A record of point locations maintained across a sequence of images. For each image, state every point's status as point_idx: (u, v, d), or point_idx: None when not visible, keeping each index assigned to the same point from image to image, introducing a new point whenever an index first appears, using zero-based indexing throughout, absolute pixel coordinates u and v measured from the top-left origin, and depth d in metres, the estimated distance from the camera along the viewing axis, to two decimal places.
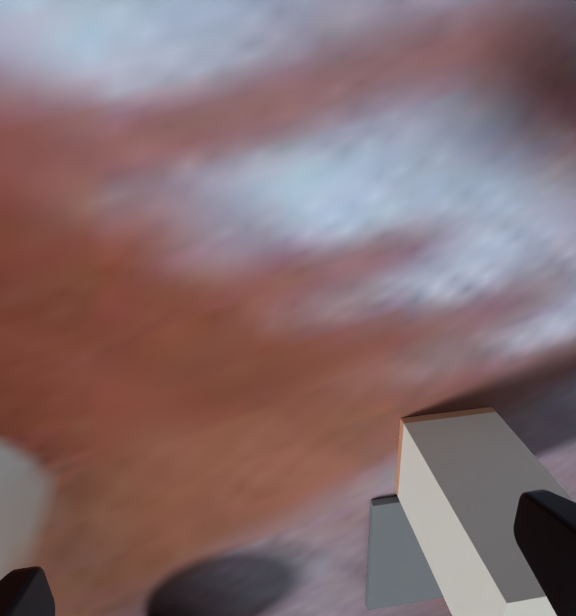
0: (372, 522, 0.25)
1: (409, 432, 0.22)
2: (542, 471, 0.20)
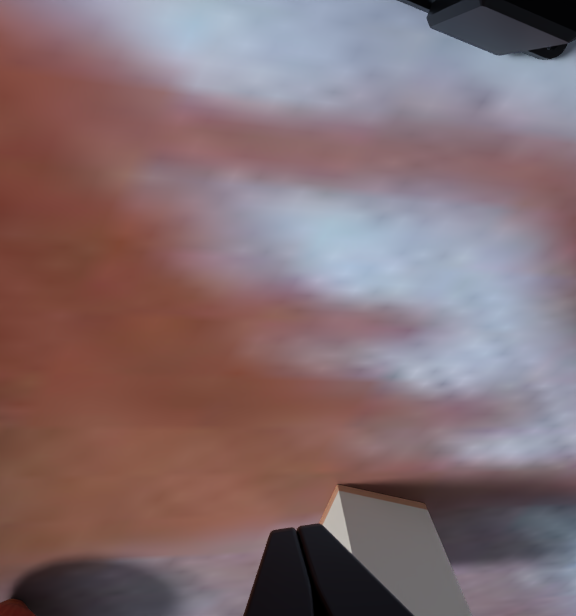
0: None
1: (341, 501, 0.22)
2: (454, 583, 0.20)
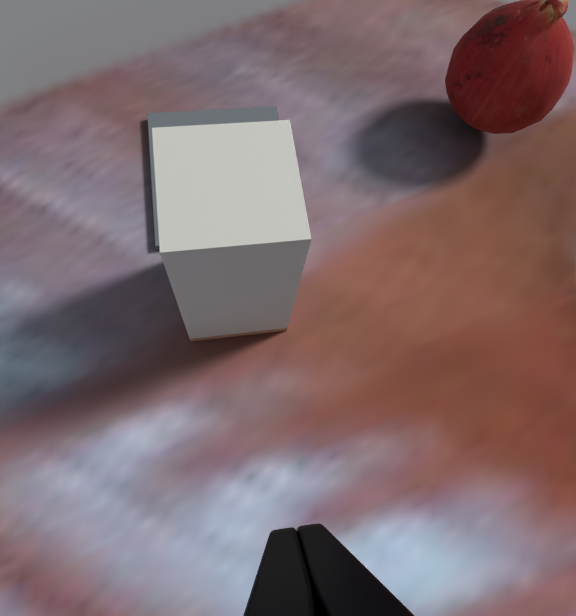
0: None
1: (287, 323, 0.22)
2: (184, 308, 0.19)
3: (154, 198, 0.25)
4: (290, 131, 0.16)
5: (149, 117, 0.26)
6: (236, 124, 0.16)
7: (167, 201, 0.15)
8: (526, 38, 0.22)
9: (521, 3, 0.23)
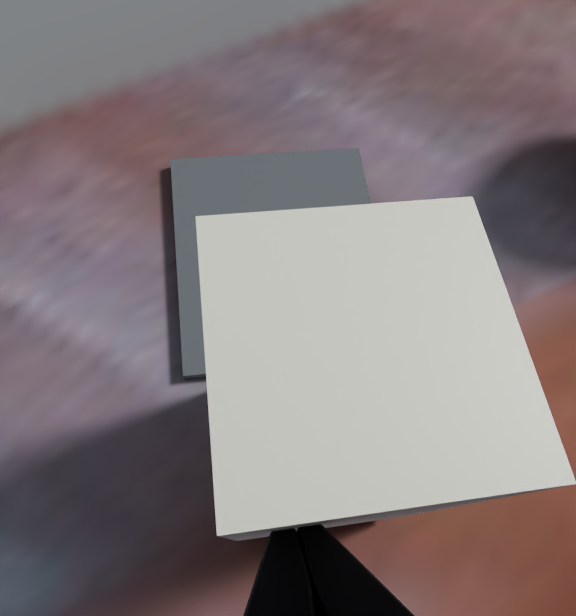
0: None
1: None
2: (241, 537, 0.10)
3: (181, 295, 0.16)
4: (479, 220, 0.08)
5: (173, 165, 0.18)
6: (369, 207, 0.08)
7: (232, 389, 0.06)
8: None
9: None
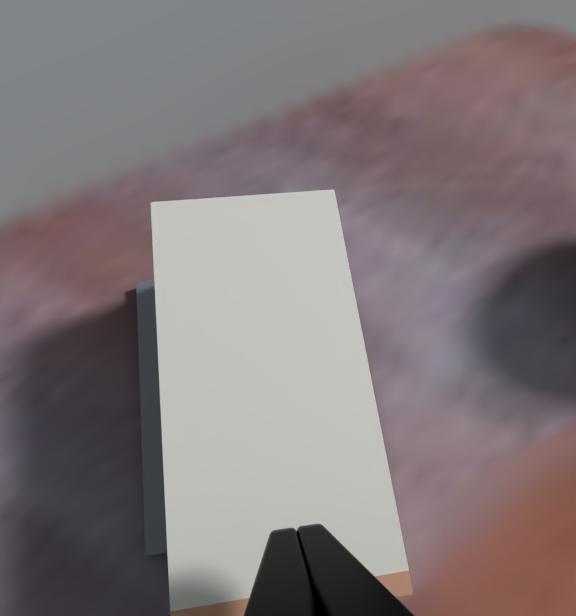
0: None
1: (400, 534, 0.10)
2: (169, 398, 0.10)
3: (145, 453, 0.14)
4: None
5: (139, 289, 0.16)
6: None
7: None
8: None
9: None
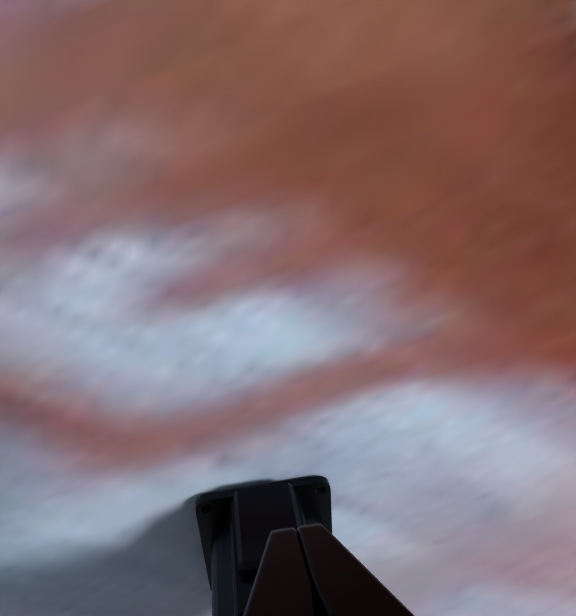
0: None
1: None
2: None
3: None
4: None
5: None
6: None
7: None
8: None
9: None
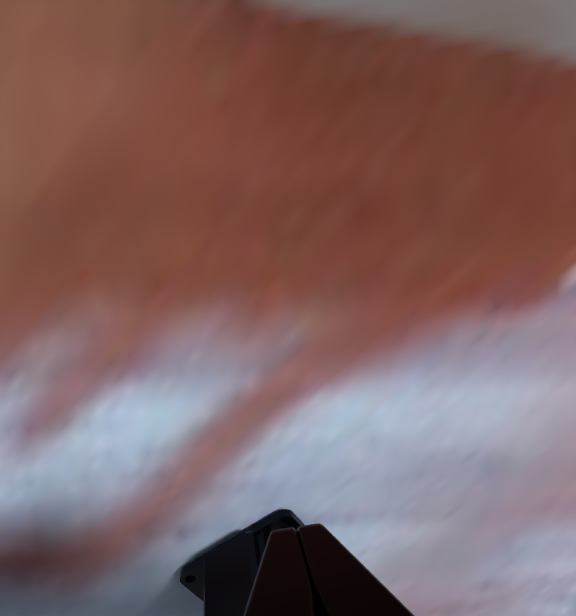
0: None
1: None
2: None
3: None
4: None
5: None
6: None
7: None
8: None
9: None
